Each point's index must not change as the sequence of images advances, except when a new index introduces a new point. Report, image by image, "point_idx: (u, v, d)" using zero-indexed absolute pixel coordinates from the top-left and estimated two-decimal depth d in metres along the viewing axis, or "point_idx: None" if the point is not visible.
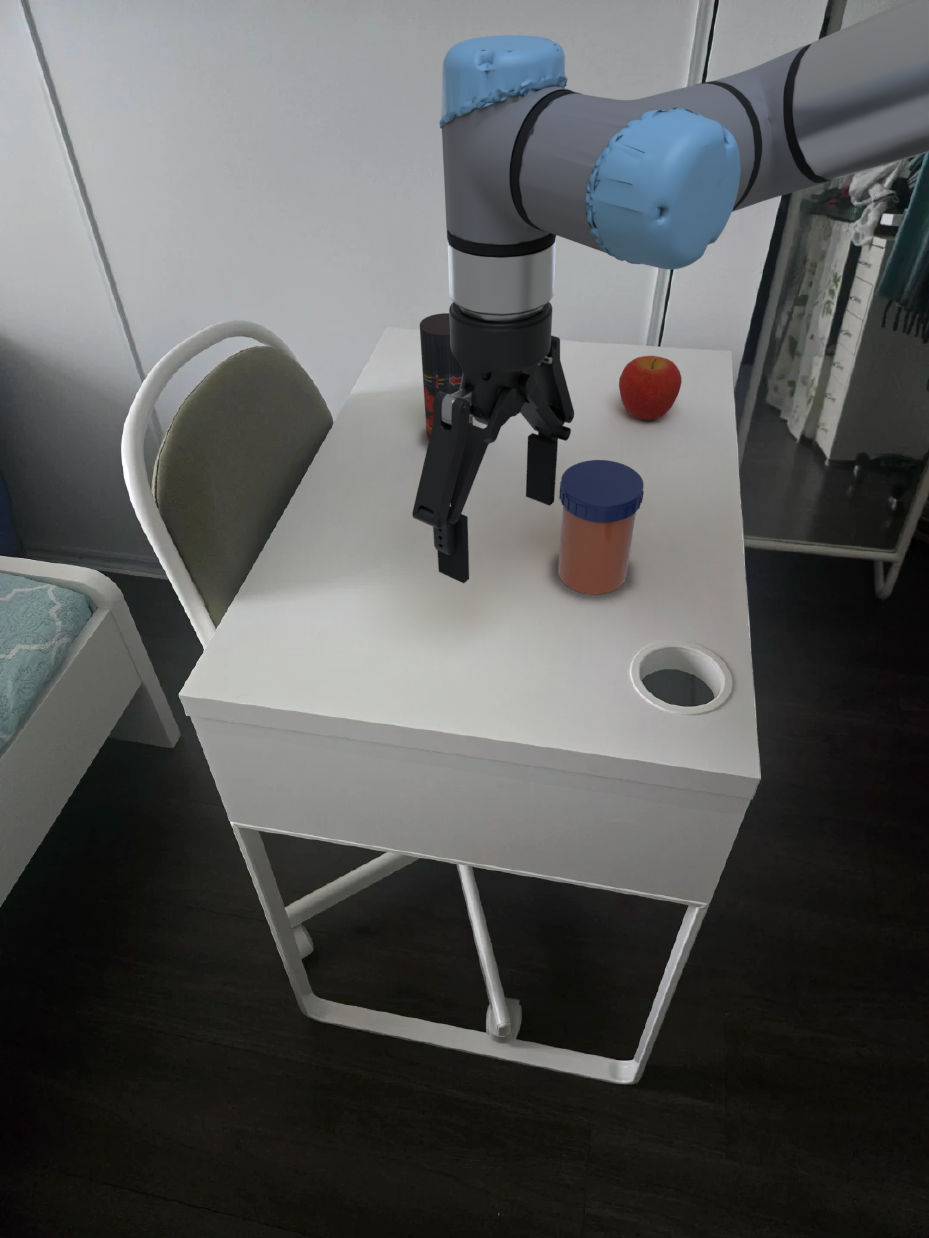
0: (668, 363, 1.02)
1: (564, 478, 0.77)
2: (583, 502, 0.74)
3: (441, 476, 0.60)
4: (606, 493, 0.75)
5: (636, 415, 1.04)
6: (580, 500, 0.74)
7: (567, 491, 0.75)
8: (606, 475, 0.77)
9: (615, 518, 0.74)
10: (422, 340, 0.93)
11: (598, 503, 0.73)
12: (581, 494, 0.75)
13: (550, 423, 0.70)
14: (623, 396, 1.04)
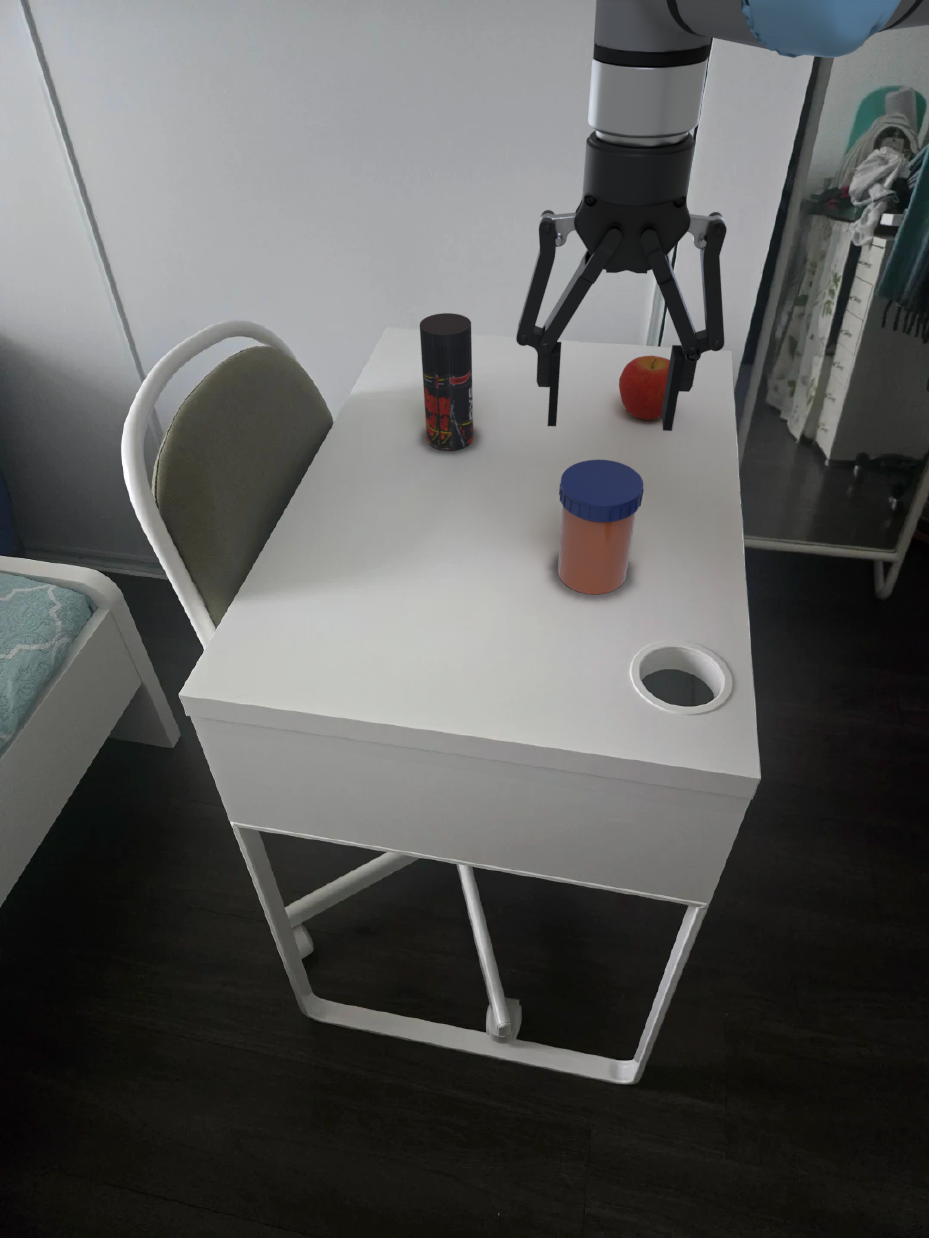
0: (668, 363, 1.02)
1: (564, 480, 0.76)
2: (587, 503, 0.74)
3: (528, 294, 0.64)
4: (608, 493, 0.75)
5: (636, 415, 1.04)
6: (583, 501, 0.74)
7: (569, 493, 0.75)
8: (605, 474, 0.77)
9: (619, 517, 0.74)
10: (422, 340, 0.93)
11: (602, 503, 0.73)
12: (583, 495, 0.74)
13: (679, 326, 0.64)
14: (623, 396, 1.04)
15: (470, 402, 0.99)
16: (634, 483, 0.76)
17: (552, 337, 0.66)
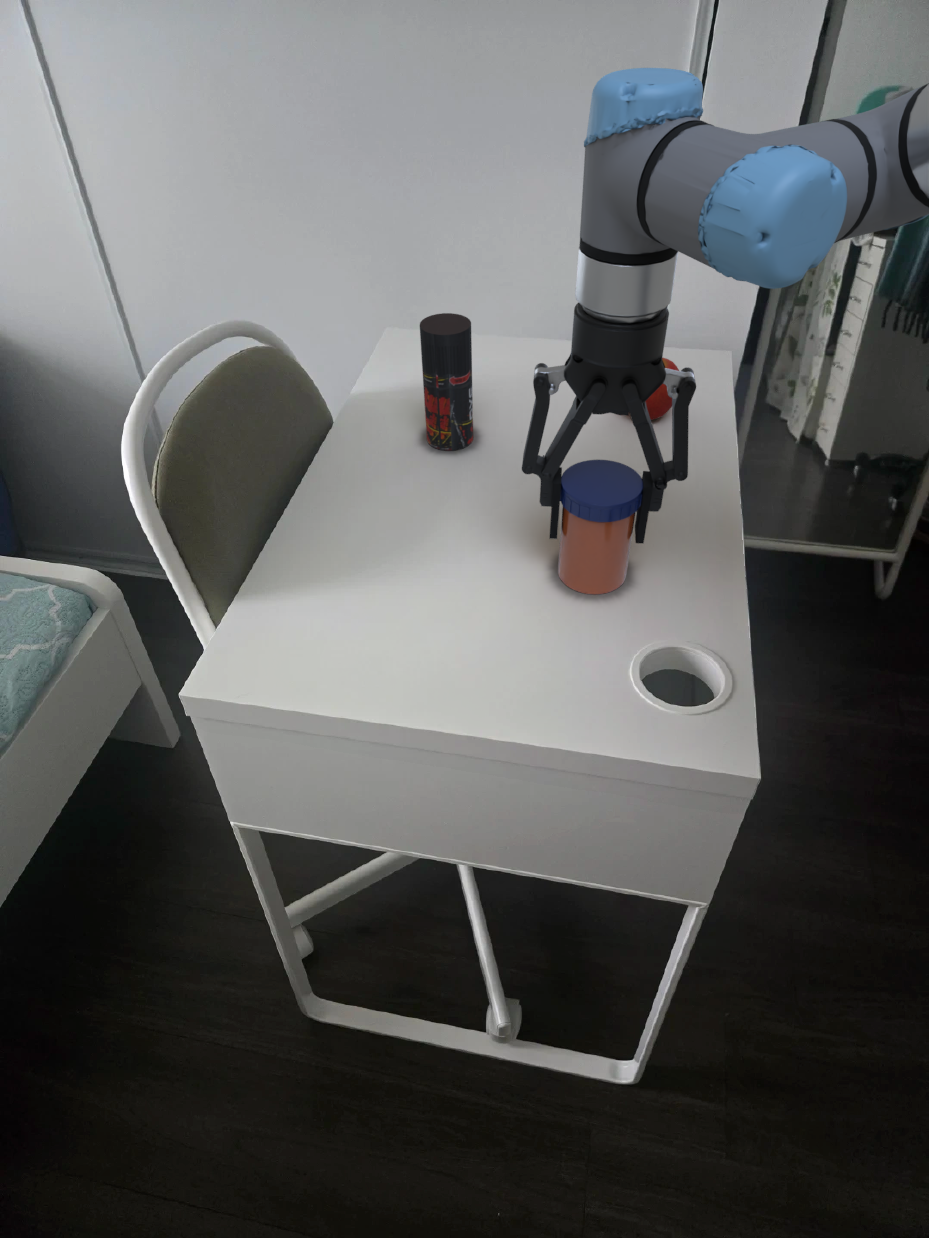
0: (668, 363, 1.02)
1: (564, 480, 0.76)
2: (587, 503, 0.74)
3: (529, 432, 0.73)
4: (608, 493, 0.75)
5: None
6: (583, 501, 0.74)
7: (569, 493, 0.75)
8: (605, 474, 0.77)
9: (619, 517, 0.74)
10: (422, 340, 0.93)
11: (602, 503, 0.73)
12: (583, 495, 0.74)
13: (650, 460, 0.72)
14: None
15: (470, 402, 0.99)
16: (634, 483, 0.76)
17: (553, 467, 0.74)
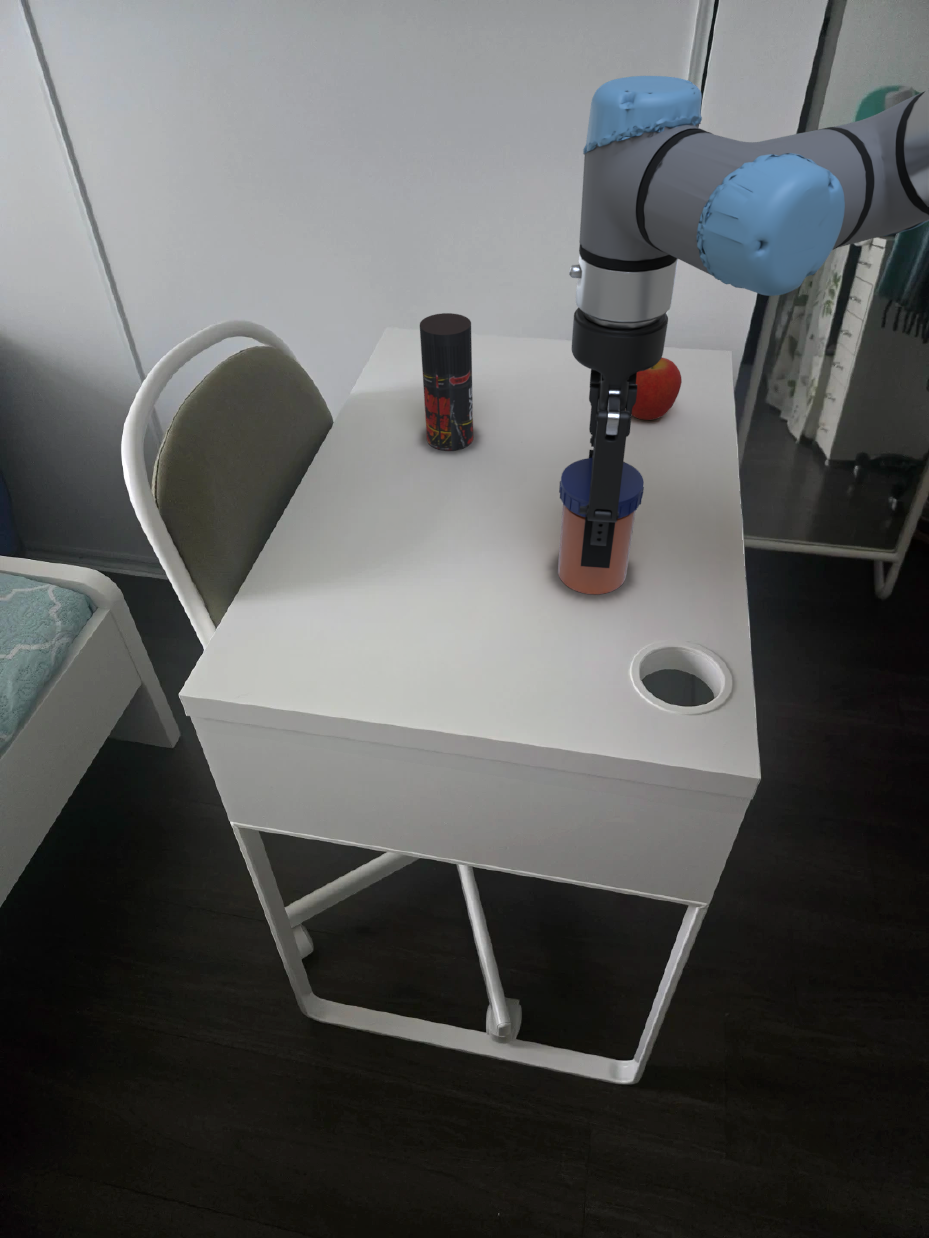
0: (668, 363, 1.02)
1: None
2: (641, 489, 0.74)
3: (613, 480, 0.67)
4: None
5: (636, 415, 1.04)
6: (638, 491, 0.74)
7: (625, 499, 0.73)
8: (589, 476, 0.76)
9: None
10: (422, 340, 0.93)
11: (641, 481, 0.75)
12: (628, 490, 0.74)
13: None
14: None
15: (470, 402, 0.99)
16: None
17: None
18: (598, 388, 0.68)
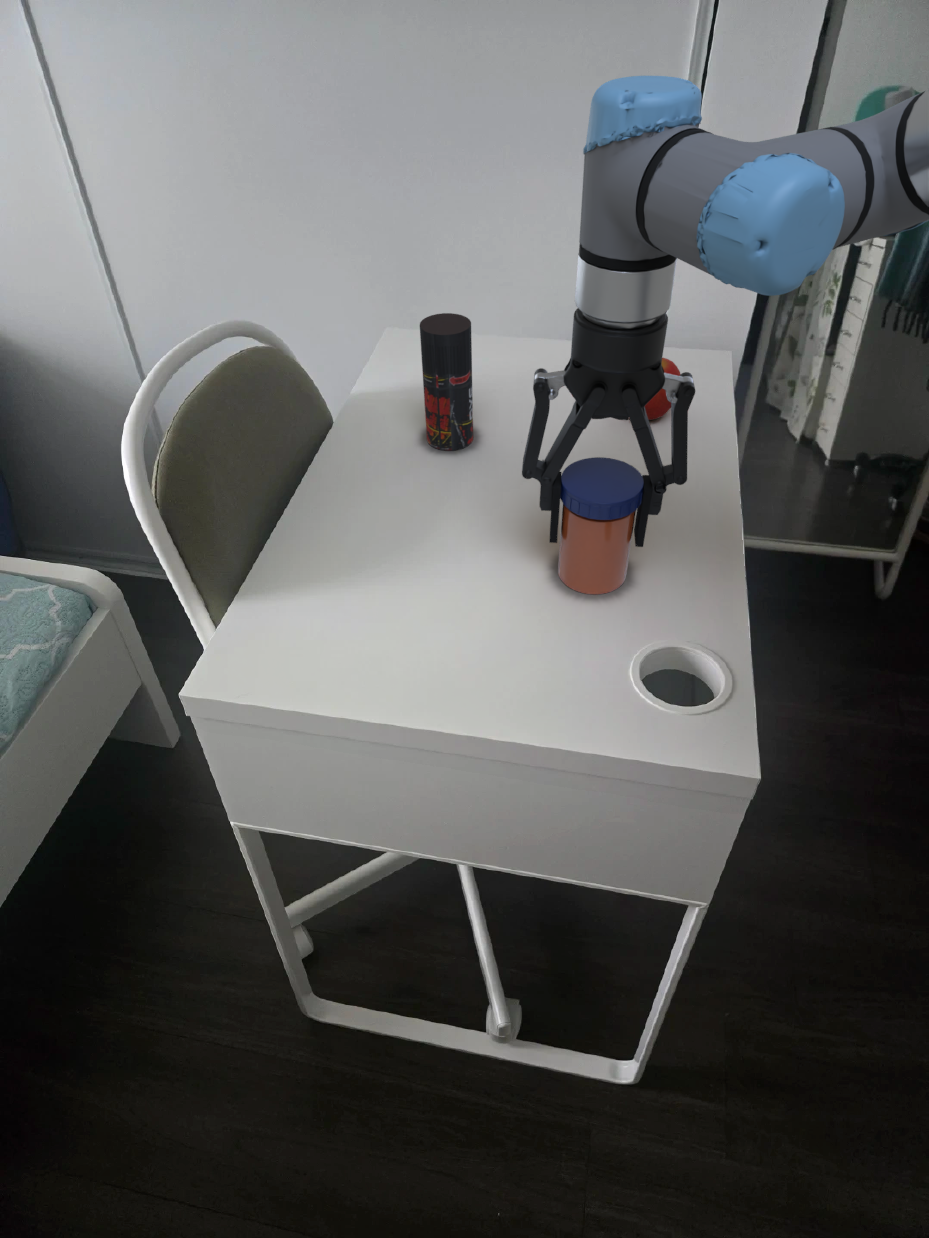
0: (668, 363, 1.02)
1: (602, 501, 0.73)
2: (641, 489, 0.74)
3: (529, 437, 0.73)
4: (621, 477, 0.76)
5: None
6: (638, 491, 0.74)
7: (625, 499, 0.73)
8: (589, 476, 0.76)
9: None
10: (422, 340, 0.93)
11: (641, 481, 0.75)
12: (628, 490, 0.74)
13: (649, 464, 0.73)
14: None
15: (470, 402, 0.99)
16: (603, 461, 0.78)
17: (553, 472, 0.74)
18: None
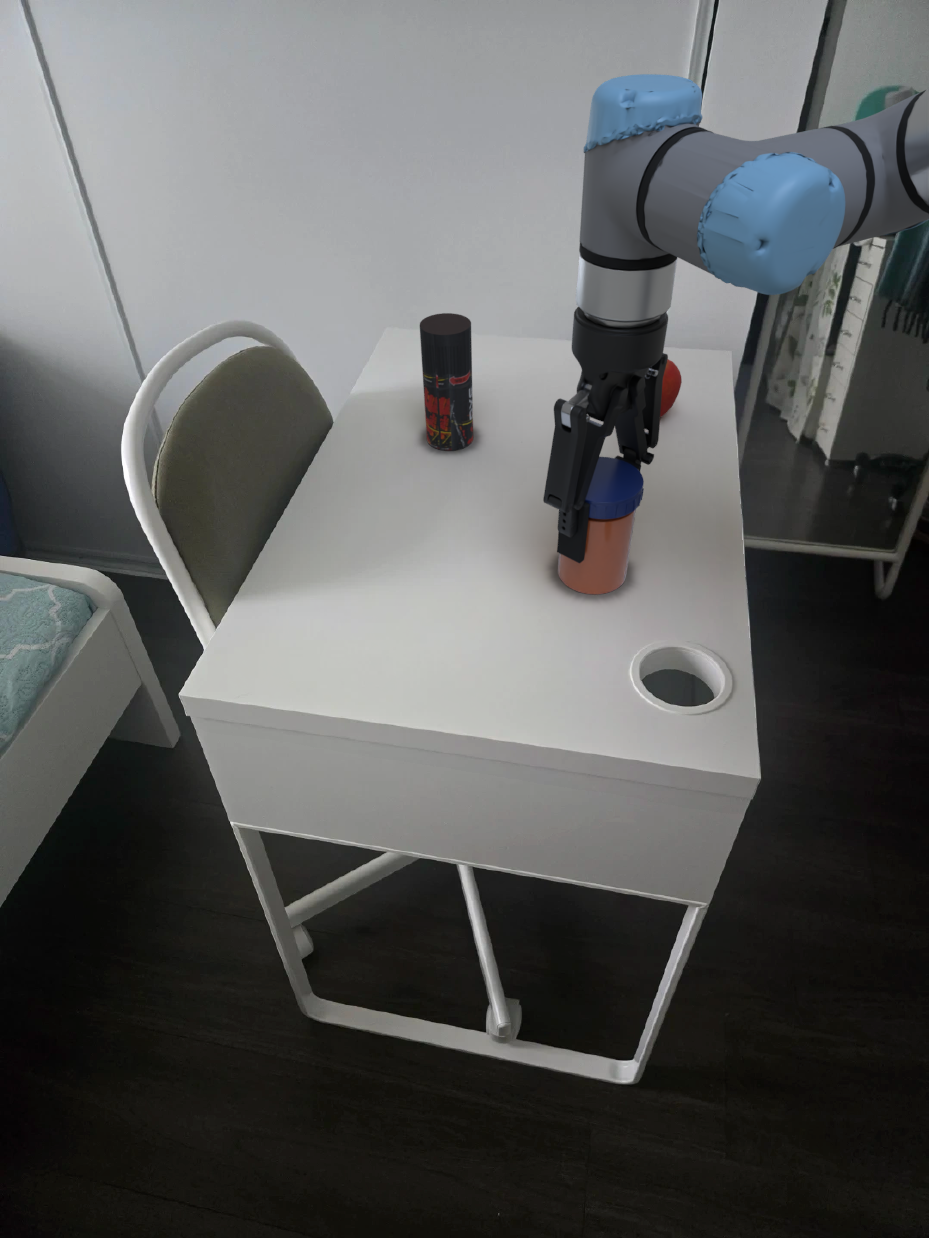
0: (668, 363, 1.02)
1: (634, 492, 0.74)
2: (636, 468, 0.77)
3: (565, 471, 0.69)
4: (608, 468, 0.77)
5: None
6: (637, 470, 0.77)
7: (642, 481, 0.75)
8: (592, 482, 0.75)
9: None
10: (422, 340, 0.93)
11: (624, 462, 0.78)
12: (631, 474, 0.76)
13: (640, 441, 0.75)
14: None
15: (470, 402, 0.99)
16: None
17: (584, 493, 0.72)
18: None
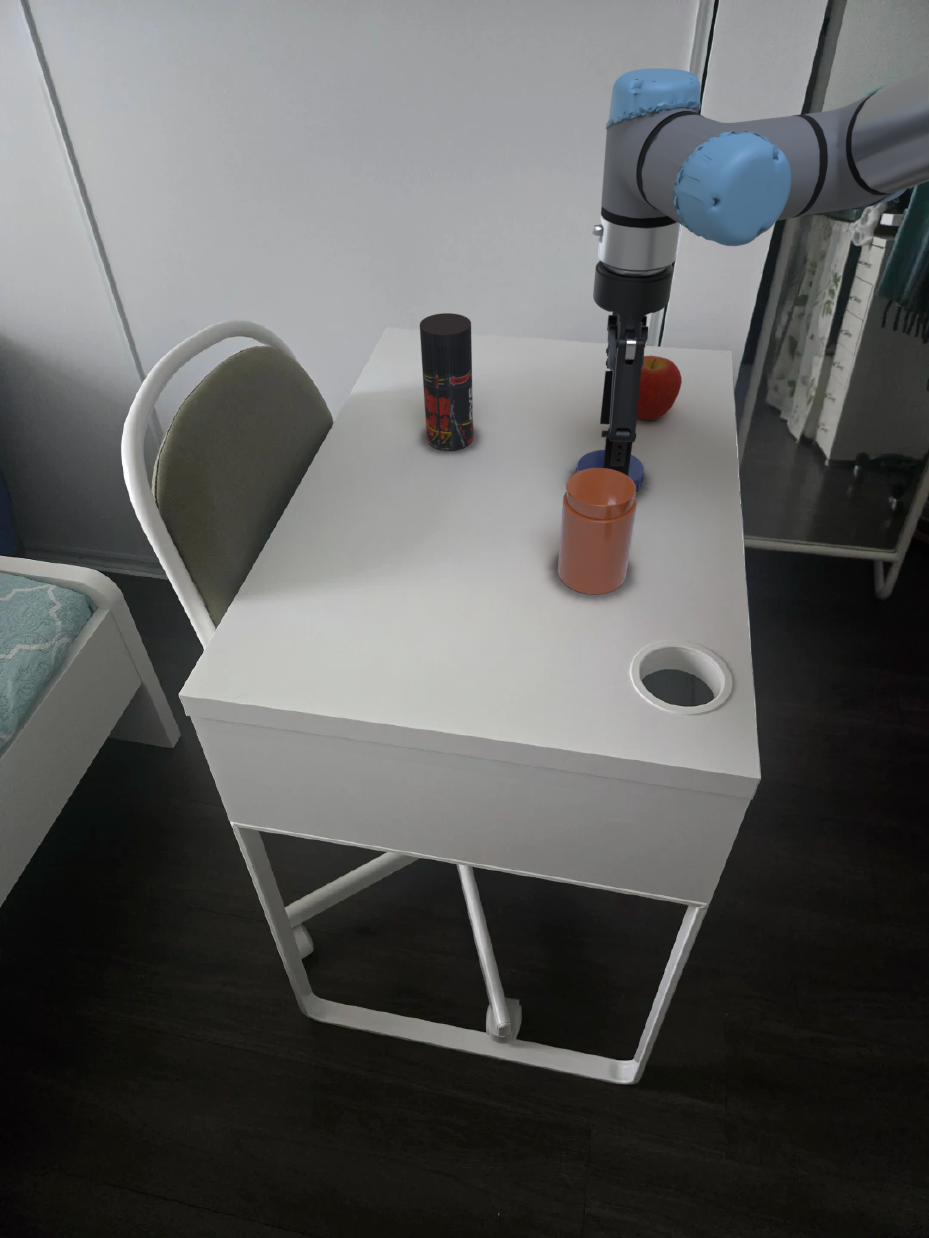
0: (668, 363, 1.02)
1: (641, 468, 0.94)
2: None
3: (632, 400, 0.79)
4: None
5: None
6: None
7: (636, 458, 0.96)
8: None
9: None
10: (422, 340, 0.93)
11: None
12: None
13: None
14: None
15: (470, 402, 0.99)
16: (584, 465, 0.95)
17: None
18: (616, 329, 0.81)
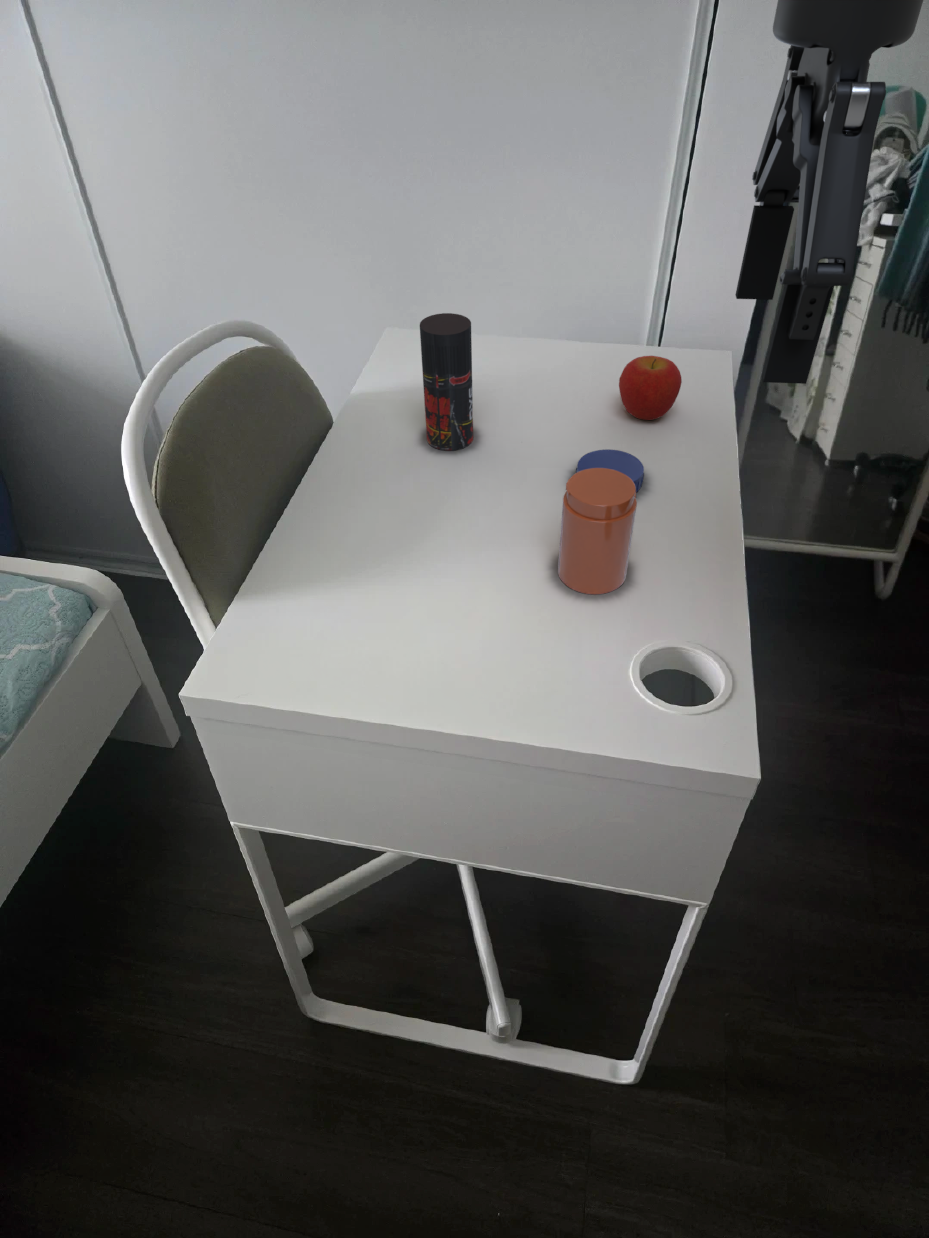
0: (668, 363, 1.02)
1: (641, 468, 0.94)
2: (621, 451, 0.97)
3: (851, 205, 0.44)
4: (605, 458, 0.96)
5: (636, 415, 1.04)
6: (624, 452, 0.97)
7: (636, 458, 0.96)
8: None
9: None
10: (422, 340, 0.93)
11: (610, 450, 0.97)
12: (624, 456, 0.96)
13: None
14: (623, 396, 1.04)
15: (470, 402, 0.99)
16: (584, 465, 0.95)
17: None
18: (812, 90, 0.46)
